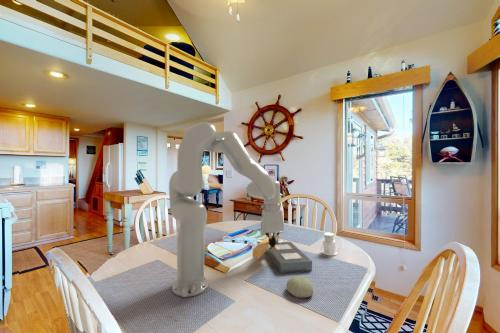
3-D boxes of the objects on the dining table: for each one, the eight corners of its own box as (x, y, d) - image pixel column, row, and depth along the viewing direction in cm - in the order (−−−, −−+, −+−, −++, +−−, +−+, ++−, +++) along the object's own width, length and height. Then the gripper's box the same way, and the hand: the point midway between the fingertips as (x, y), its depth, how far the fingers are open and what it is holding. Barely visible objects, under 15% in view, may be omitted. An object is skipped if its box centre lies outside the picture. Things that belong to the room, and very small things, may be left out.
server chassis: (311, 270, 94) (312, 259, 94) (280, 273, 91) (281, 262, 91) (286, 245, 123) (286, 237, 123) (262, 247, 120) (262, 238, 120)
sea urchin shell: (292, 276, 85) (306, 266, 82) (305, 296, 82) (320, 287, 78) (279, 286, 78) (294, 275, 74) (293, 308, 75) (309, 299, 71)
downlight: (335, 250, 117) (335, 231, 117) (339, 256, 110) (339, 236, 110) (320, 250, 117) (319, 231, 117) (323, 256, 110) (322, 236, 110)
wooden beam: (259, 258, 93) (259, 250, 93) (251, 257, 95) (252, 249, 95) (279, 237, 121) (279, 231, 121) (273, 236, 122) (273, 230, 122)
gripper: (258, 209, 98) (258, 250, 98) (290, 208, 101) (290, 247, 101) (254, 206, 105) (254, 244, 106) (284, 204, 108) (284, 241, 109)
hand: (272, 245), depth 103 cm, fingers closed
